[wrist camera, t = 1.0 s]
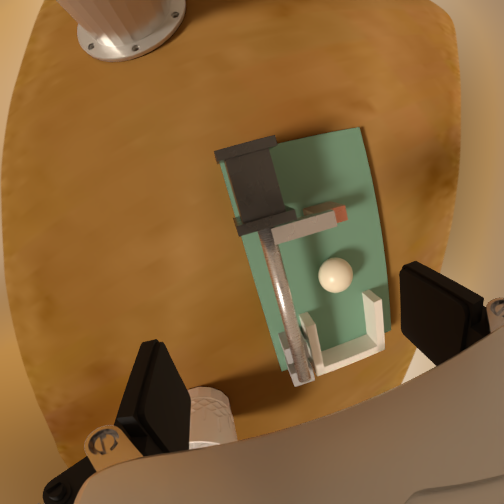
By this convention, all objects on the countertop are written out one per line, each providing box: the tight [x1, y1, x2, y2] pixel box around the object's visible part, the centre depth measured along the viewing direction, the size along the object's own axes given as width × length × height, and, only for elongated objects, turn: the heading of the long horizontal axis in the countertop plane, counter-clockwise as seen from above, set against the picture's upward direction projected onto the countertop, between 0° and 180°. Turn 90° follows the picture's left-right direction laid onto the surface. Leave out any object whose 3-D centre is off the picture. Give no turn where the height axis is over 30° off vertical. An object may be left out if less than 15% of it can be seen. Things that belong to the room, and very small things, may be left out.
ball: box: [318, 257, 353, 293], centre depth 29 cm, size 4×4×4 cm
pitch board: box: [220, 127, 391, 387], centre depth 30 cm, size 25×15×4 cm, turn 16°
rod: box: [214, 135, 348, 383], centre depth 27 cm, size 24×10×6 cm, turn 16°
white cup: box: [187, 387, 237, 449], centre depth 30 cm, size 8×8×10 cm
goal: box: [299, 290, 385, 376], centre depth 32 cm, size 7×9×3 cm
